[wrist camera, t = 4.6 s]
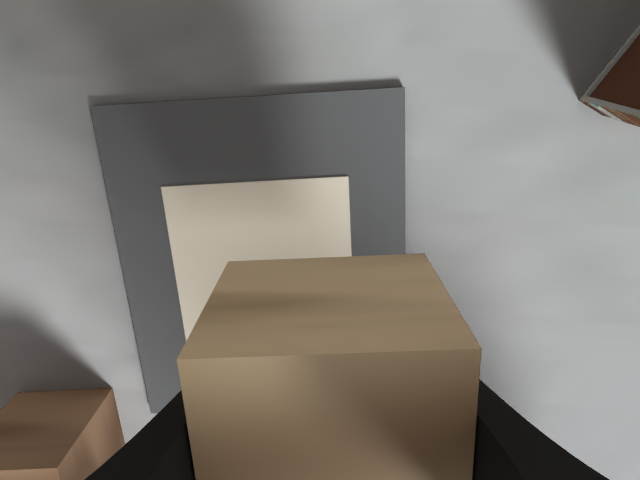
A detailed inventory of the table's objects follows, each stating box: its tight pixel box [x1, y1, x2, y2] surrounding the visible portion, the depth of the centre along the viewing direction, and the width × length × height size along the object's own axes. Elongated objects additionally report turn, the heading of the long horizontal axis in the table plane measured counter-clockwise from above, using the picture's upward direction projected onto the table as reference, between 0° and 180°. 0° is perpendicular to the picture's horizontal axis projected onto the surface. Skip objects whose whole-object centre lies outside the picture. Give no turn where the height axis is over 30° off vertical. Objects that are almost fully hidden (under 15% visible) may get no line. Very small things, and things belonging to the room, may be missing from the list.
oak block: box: [177, 253, 481, 480], centre depth 12 cm, size 6×6×5 cm
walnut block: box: [0, 388, 125, 480], centre depth 21 cm, size 4×4×5 cm
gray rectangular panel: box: [90, 87, 405, 413], centre depth 20 cm, size 14×12×1 cm
